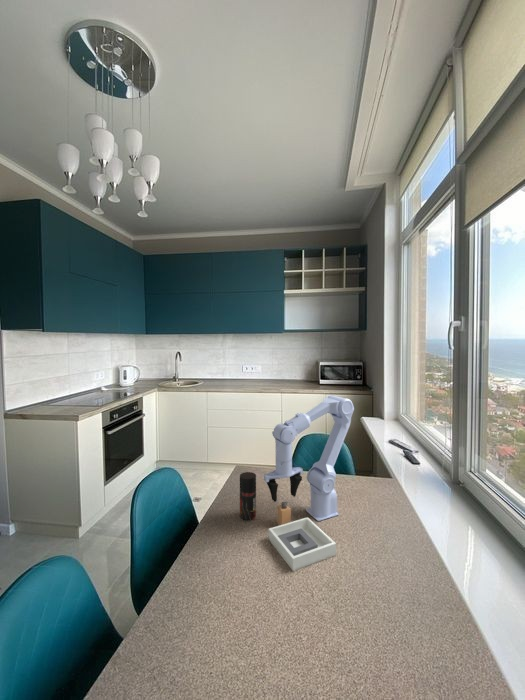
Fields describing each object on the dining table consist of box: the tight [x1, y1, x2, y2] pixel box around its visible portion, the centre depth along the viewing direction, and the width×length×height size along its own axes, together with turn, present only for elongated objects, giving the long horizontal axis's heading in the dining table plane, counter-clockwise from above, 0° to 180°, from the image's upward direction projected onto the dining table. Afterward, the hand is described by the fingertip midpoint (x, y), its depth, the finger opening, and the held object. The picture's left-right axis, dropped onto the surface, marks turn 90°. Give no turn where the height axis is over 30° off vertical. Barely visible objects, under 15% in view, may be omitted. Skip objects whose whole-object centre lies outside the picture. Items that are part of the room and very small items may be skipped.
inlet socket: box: [278, 528, 318, 556], centre depth 93 cm, size 9×9×2 cm
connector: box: [276, 501, 292, 526], centre depth 105 cm, size 4×4×8 cm
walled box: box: [268, 516, 337, 572], centre depth 93 cm, size 15×15×4 cm
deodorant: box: [239, 471, 257, 522], centre depth 110 cm, size 6×6×15 cm
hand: (283, 497), depth 105 cm, fingers open, 7 cm apart
